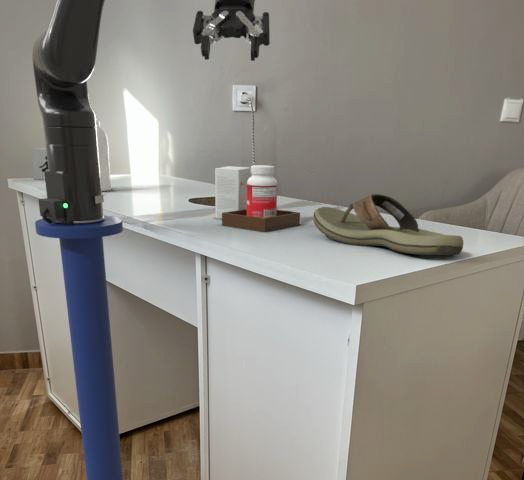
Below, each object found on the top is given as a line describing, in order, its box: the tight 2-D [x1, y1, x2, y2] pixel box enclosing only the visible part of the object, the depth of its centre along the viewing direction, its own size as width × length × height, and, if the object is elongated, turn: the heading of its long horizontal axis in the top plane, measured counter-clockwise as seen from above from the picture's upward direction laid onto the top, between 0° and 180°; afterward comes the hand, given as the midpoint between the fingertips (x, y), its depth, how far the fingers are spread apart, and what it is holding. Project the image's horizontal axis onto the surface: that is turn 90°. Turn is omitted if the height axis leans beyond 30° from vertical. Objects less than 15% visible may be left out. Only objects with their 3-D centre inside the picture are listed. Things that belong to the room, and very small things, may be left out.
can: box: [95, 118, 112, 193], centre depth 164 cm, size 12×12×20 cm
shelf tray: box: [221, 209, 301, 233], centre depth 114 cm, size 12×11×2 cm
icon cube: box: [30, 147, 49, 180], centre depth 199 cm, size 10×10×10 cm
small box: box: [214, 165, 252, 220], centre depth 122 cm, size 8×6×10 cm
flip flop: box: [312, 193, 464, 256], centre depth 95 cm, size 29×12×8 cm, turn 37°
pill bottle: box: [247, 164, 278, 218], centre depth 112 cm, size 6×6×11 cm
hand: (229, 56), depth 102 cm, fingers open, 8 cm apart
